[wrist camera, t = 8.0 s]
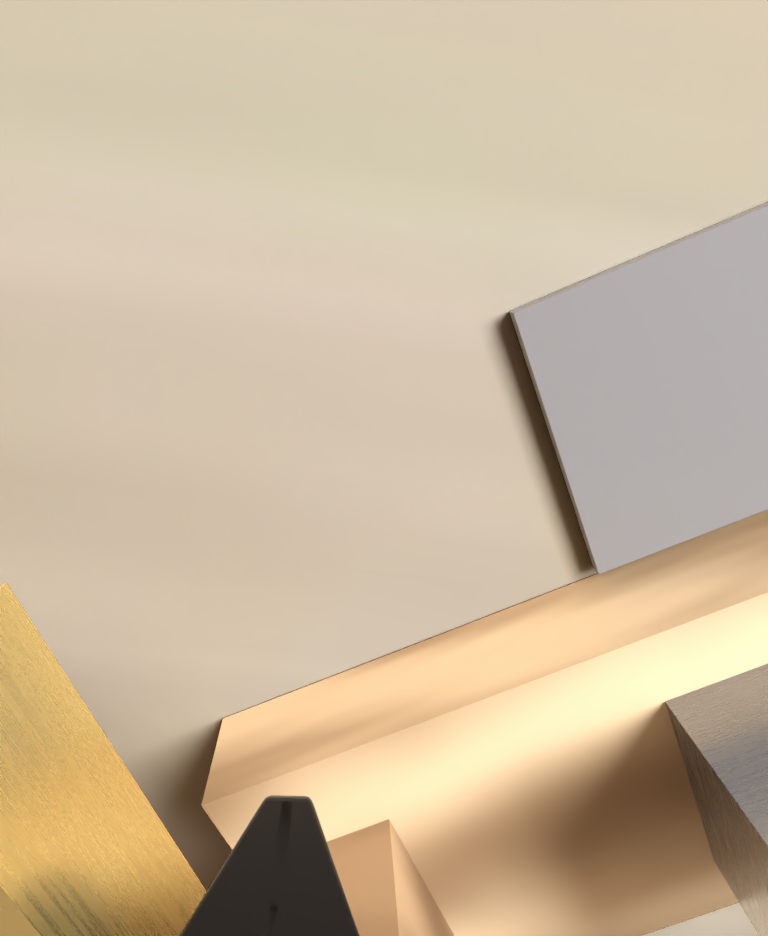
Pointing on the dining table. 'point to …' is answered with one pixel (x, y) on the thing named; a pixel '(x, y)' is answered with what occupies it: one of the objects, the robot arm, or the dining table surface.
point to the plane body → (519, 755)
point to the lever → (74, 811)
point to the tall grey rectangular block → (731, 779)
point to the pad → (659, 389)
